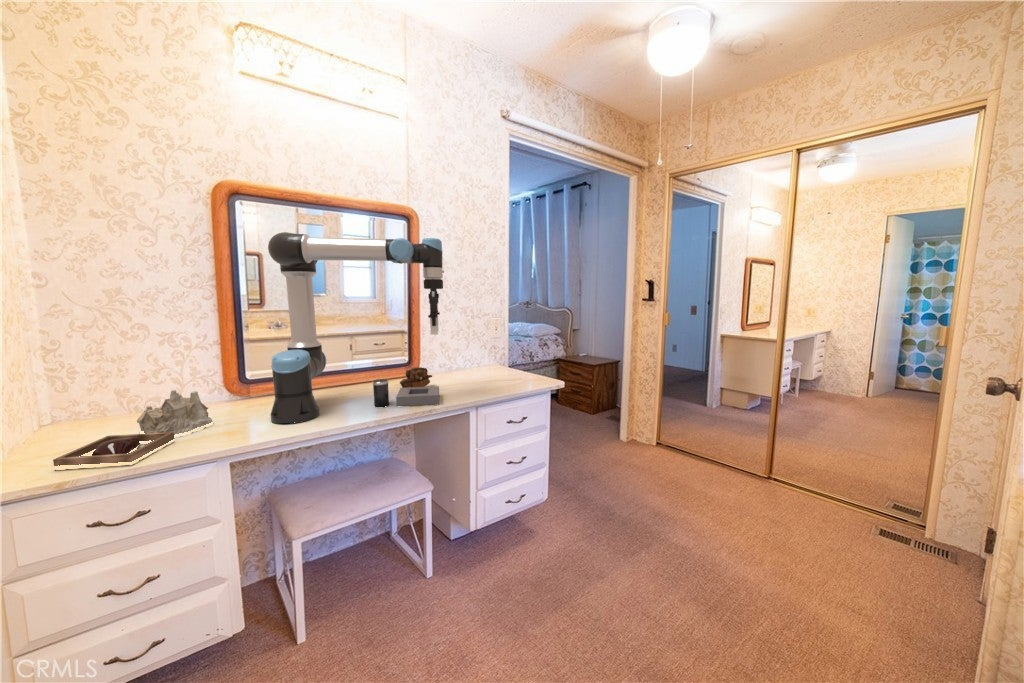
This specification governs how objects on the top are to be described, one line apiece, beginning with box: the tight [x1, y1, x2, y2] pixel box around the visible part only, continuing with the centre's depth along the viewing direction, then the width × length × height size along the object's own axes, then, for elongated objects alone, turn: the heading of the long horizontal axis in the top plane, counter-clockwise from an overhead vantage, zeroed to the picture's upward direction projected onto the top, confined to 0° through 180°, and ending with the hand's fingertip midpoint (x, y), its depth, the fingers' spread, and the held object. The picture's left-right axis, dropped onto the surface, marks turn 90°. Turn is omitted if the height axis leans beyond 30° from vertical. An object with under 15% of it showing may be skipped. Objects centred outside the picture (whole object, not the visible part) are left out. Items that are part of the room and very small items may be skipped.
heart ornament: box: [92, 437, 140, 456], centre depth 106 cm, size 6×12×11 cm
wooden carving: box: [399, 366, 433, 388], centre depth 174 cm, size 16×5×10 cm, turn 143°
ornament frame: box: [52, 432, 175, 467], centre depth 106 cm, size 17×16×3 cm
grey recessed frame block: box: [395, 385, 440, 407], centre depth 156 cm, size 16×14×4 cm
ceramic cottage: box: [136, 389, 213, 435], centre depth 124 cm, size 16×16×15 cm
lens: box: [372, 378, 390, 408], centre depth 150 cm, size 6×6×10 cm
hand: (434, 332), depth 154 cm, fingers open, 13 cm apart
